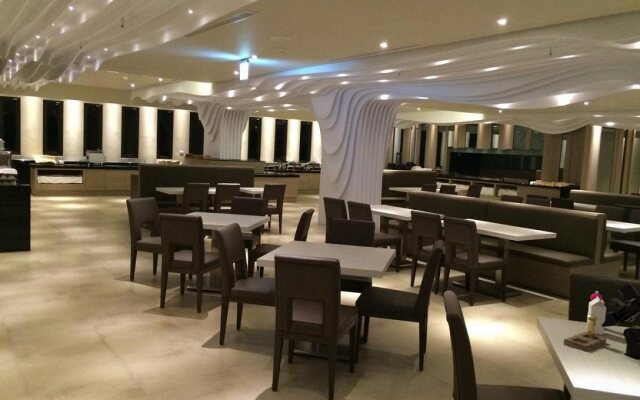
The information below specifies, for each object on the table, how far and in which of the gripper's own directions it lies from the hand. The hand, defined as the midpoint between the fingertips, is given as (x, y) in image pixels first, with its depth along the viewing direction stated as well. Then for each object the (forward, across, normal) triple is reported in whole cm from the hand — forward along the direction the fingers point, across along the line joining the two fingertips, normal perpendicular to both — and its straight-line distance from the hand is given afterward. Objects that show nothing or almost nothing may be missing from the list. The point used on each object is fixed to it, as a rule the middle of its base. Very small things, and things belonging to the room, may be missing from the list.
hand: (607, 324), depth 267 cm
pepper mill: (+23, -28, -7) cm, 37 cm away
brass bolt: (+13, 0, +2) cm, 13 cm away
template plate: (+13, +6, +3) cm, 14 cm away
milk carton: (+19, -18, -3) cm, 26 cm away
